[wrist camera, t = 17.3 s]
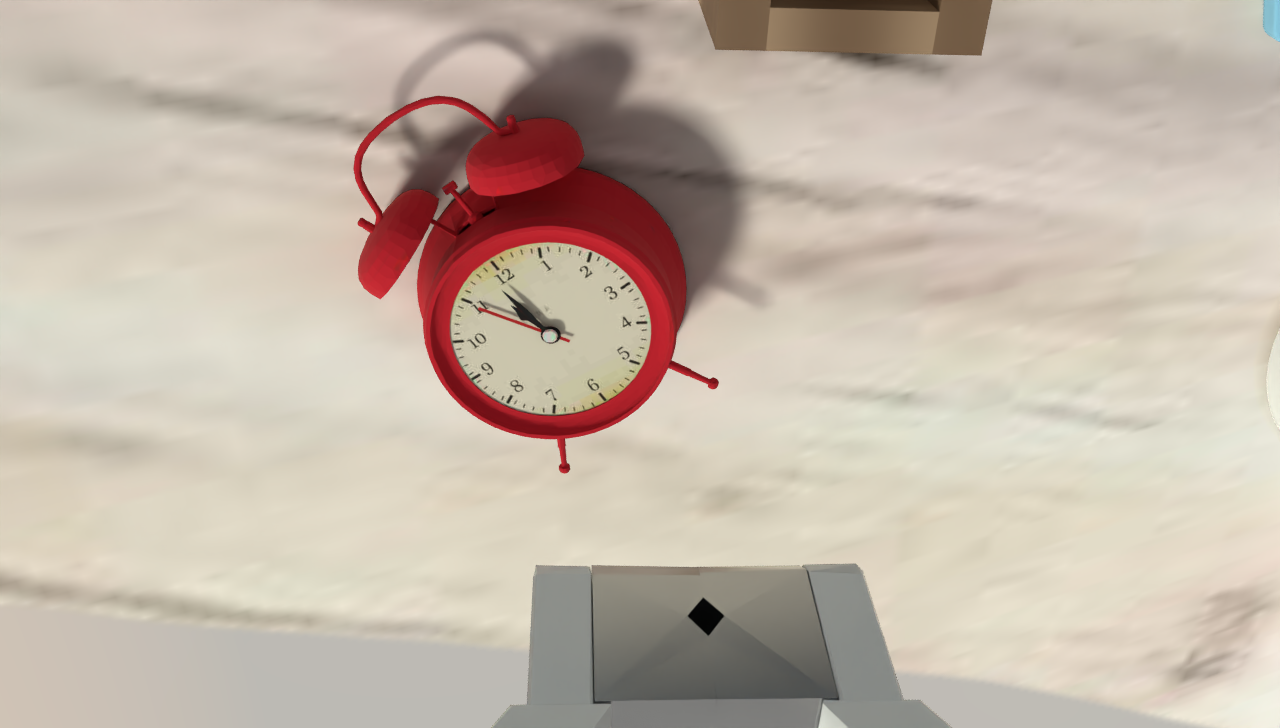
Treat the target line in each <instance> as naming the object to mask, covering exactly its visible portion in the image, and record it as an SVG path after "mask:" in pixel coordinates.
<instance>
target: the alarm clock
mask: <svg viewBox="0 0 1280 728" xmlns="http://www.w3.org/2000/svg"><path fill="white" fill-rule="evenodd" d="M432 104H449V105H455V106H457V107H460V108H462V109H464V110H466V111H468V112H469V113H471V114H472V115H474V116H475V117H477V118H478V119H479V120H481V121H482V122H483V123H484V124H486V125H487V126H488V127H489V128H490V129H491V130H493V132H491V133H489V134H488V135H486V136H485V137H483V138H482V139H481V140H480V141H478V142H477V143H476V144H475V145H474V147H473V148H472V149H471V150H470V152H469V154H468V156H467V161H466V174H467V179H468V182H469V185H470V189H468V190H467V191H465V192H464V193H463V194H462V195H461V196H460V195H459V193H458V192H457V191H456V190H455V189H457V187H458V186H457V184H456V183H455V182H454V181H451V182H450V183H449V184H447V185H446V186H444V187H443V188H442V189H443V191H444V193H445V194H447V195H448V194H449V193H451V194H452V195H453V196H454V197H455V199H456V200H455V201H453V202H452V203H451V204H450V205H449V206H448V207H447V208H446V210H445V211H444V212H443V213H442V215H441V216H440V218H439V219H438V220H437V221H436V220H434V219H433V216H434V214H435V211H436V209H437V206H438V201H439V198H437V197H436V196H434V195H432V194H431V193H429V192H426V191H424V190H421V189H411V190H409V191H406V192H404V193H402V194H401V195H400V196H398V197H397V198H396V199H395V200H394V201H393V202H392V203H391V204H390V205H389V206H388V207H387V209H386V210H385V211H384V213H383V214H382V211H381V209H380V208H379V206H378V205H377V203H376V202H375V200H374V198H373V197H372V195H371V194H370V192H369V190H368V188H367V186H366V185H365V183H364V181H363V176H362V172H361V164H362V159H363V155H364V153H365V152H366V150H367V148H368V147H369V145H370V143H371V142H372V141H373V140H374V139H375V138H376V137H377V136H378V135H379V134H380V133H381V132H382V131H383V130H384V129H386V128H387V127H388V126H389V125H390V124H392V123H393V122H394V121H396V120H397V119H399V118H400V117H402V116H404V115H406V114H407V113H409V112H411V111H413V110H415V109H418V108H421V107H424V106H427V105H432ZM506 120H507V123H508V125H507V126H504V127H502V128H499V127H498V126H497V125H496V124H495V123H494V122H493V121H492V120H491V119H490V118H489V117H488V116H486V115H485V114H484V113H482V112H481V111H480V110H478V109H477V108H476V107H474V106H473V105H471V104H469V103H467V102H465V101H463V100H461V99H458V98H454V97H445V96H434V97H429V98H424V99H420V100H418V101H415V102H413V103H411V104H408V105H406V106H404V107H403V108H401V109H399V110H398V111H396V112H394V113H393V114H391V115H390V116H388V117H386V118H385V119H384V120H383V121H382V122H381V123H380V124H379V125H377V126H376V127H375V128H374V129H373V130H372V131H371V132H370V133H369V134H368V135H367V136H366V138H365V139H364V140H363V142H362V143H361V144H360V146H359V148H358V151H357V153H356V155H355V161H354V174H355V179H356V182H357V184H358V187H359V189H360V191H361V193H362V194H363V196H364V197H365V199H366V200H367V202H368V203H369V205H370V206H371V208H372V209H373V211H374V212H375V214H376V222H375V225H373V224H372V223H370V222H368V221H366V220H365V219H363V218H360V220H359V221H358V225H359V226H360V227H363V228H364V229H365V230H367V231H368V232H370V235H369V236H368V238H367V241H366V243H365V246H364V248H363V251H362V253H361V256H360V259H359V266H358V275H359V280H360V282H361V284H362V285H363V287H364V289H366V290H367V291H368V292H369V293H371V294H372V295H374V296H376V297H377V298H379V299H381V298H382V297H383V296H384V295H385V294H386V293H387V292H388V291H389V290H390V288H391V287H392V286H393V284H394V283H395V282H396V280H397V279H398V277H399V276H400V274H401V273H402V271H403V270H404V268H405V267H406V265H407V264H408V262H409V261H410V259H411V258H412V256H413V254H414V253H415V251H416V249H417V247H418V246H419V244H420V242H421V241H422V239H423V237H424V235H425V233H426V231H427V229H428V227H429V225H430V223H432V224H434V227H433V229H432V230H431V232H430V234H429V236H428V238H427V241H426V243H425V246H424V249H423V252H422V256H421V259H420V264H419V269H418V279H417V292H418V302H419V307H420V312H421V315H422V318H423V330H424V339H425V345H426V348H427V352H428V355H429V358H430V361H431V363H432V365H433V368H434V370H435V372H436V374H437V376H438V378H439V380H440V381H441V383H442V384H443V386H444V387H445V388H446V390H447V391H448V392H449V394H450V395H451V396H452V397H453V398H454V399H455V400H456V401H457V402H458V403H459V404H460V405H461V406H462V407H463V408H464V409H466V410H467V411H468V412H470V413H471V414H472V415H474V416H475V417H477V418H478V419H480V420H482V421H483V422H485V423H487V424H489V425H491V426H493V427H495V428H498V429H501V430H503V431H506V432H509V433H512V434H516V435H520V436H525V437H531V438H540V439H557V442H558V447H559V450H560V456H561V463H562V464H560V466H559V470H560V472H562V473H568V472H569V470H570V465H569V464H568V463H567V461H566V450H565V446H566V444H565V438H573V437H579V436H584V435H588V434H591V433H595V432H598V431H600V430H603V429H606V428H608V427H610V426H612V425H614V424H616V423H618V422H620V421H621V420H623V419H625V418H626V417H628V416H629V415H631V414H632V413H633V412H635V411H636V410H637V409H639V408H640V407H641V406H642V405H643V404H644V403H645V402H646V401H647V400H648V399H649V397H650V396H651V395H652V394H653V393H654V391H655V390H656V388H657V387H658V385H659V384H660V382H661V381H662V379H663V377H664V375H665V373H666V371H667V369H668V368H670V369H672V370H675V371H677V372H679V373H681V374H684V375H686V376H690V377H692V378H694V379H697V380H699V381H702V382H704V383H706V384H708V387H709V388H710V389H716V388H717V386H718V384H719V382H718V380H717V379H716V378H714V377H713V378H711V379H708V378H706V377H704V376H702V375H700V374H698V373H696V372H694V371H692V370H691V369H689V368H687V367H685V366H683V365H680V364H678V363H676V362H674V361H672V360H671V359H672V357H673V353H674V349H675V345H676V337H677V332H678V330H679V327H680V324H681V321H682V318H683V314H684V310H685V303H686V276H685V269H684V264H683V260H682V256H681V253H680V250H679V247H678V244H677V242H676V240H675V238H674V236H673V234H672V232H671V230H670V229H669V227H668V225H667V224H666V223H665V221H664V220H663V218H662V217H661V216H660V215H659V213H658V212H657V211H656V210H655V209H654V208H653V207H652V206H651V205H650V204H649V203H648V202H647V201H646V200H645V199H643V198H642V197H641V196H640V195H638V194H637V193H636V192H634V191H633V190H632V189H630V188H628V187H627V186H625V185H623V184H622V183H620V182H618V181H616V180H614V179H612V178H610V177H607V176H605V175H602V174H599V173H596V172H593V171H590V170H585V169H581V168H577V167H578V165H579V164H580V162H581V161H582V159H583V157H584V151H583V146H582V143H581V140H580V138H579V135H578V133H577V132H576V131H575V129H574V128H572V127H571V126H570V125H569V124H568V123H566V122H564V121H561V120H558V119H552V118H536V119H528V120H524V121H520V122H516V119H515V117H514V115H509V116H507V118H506Z"/></svg>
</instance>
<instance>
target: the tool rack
mask: <svg viewBox="0 0 1280 728" xmlns="http://www.w3.org/2000/svg"><path fill="white" fill-rule="evenodd" d="M698 1H699V3H700V6H701V9H702V12H703V15H704V18H705V21H706V23H707V26H708V29H709V32H710V35H711V38H712V41H713V43H714V46H715V49H716V50H760V51H805V52H849V53H894V54H939V55H981V54H982V49H983V44H984V39H985V34H986V29H987V24H988V19H989V14H990V9H991V4H992V0H698Z"/></svg>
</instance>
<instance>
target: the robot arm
mask: <svg viewBox="0 0 1280 728" xmlns="http://www.w3.org/2000/svg"><path fill="white" fill-rule="evenodd" d="M1267 398H1268V403H1269V407H1270V411H1271V414H1272V417H1273V419H1274V421H1275V423H1276V425H1277V427H1278V428H1279V430H1280V328H1279V331H1278V333H1277V335H1276V338H1275V341H1274V344H1273V346H1272V350H1271V354H1270V358H1269V363H1268V369H1267ZM491 728H952V727H951V726H950V725H949V724H948V723H946V722H945V721H944V720H943V719H942V718H940V717H939V716H938V715H937V714H936V713H935V712H934V711H932V710H931V709H930V708H929V707H928V706H927V705H925V704H924V703H923V702H922V701H921V700H904V699H903V696H902V693H901V689H900V686H899V683H898V680H897V677H896V674H895V671H894V667H893V664H892V661H891V658H890V655H889V652H888V649H887V645H886V642H885V639H884V636H883V633H882V630H881V627H880V623H879V620H878V617H877V614H876V611H875V608H874V605H873V601H872V598H871V595H870V592H869V589H868V586H867V583H866V580H865V576H864V573H863V571H862V570H861V569H860V568H859V567H858V565H857V564H817V565H803V566H802V567H801V566H799V565H797V566H725V567H657V566H601V565H592V571H590V567H587V566H542V565H536V569H535V573H534V577H533V592H532V612H531V632H530V652H529V673H528V692H527V705H510V706H509V707H508V708H507V710H506V711H505V712H504V713H503V714H502V715H501V717H500V718H499V719H498V720H497V721H496V722H495V724H494V725H493V726H492V727H491Z"/></svg>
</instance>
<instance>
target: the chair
mask: <svg viewBox="0 0 1280 728" xmlns="http://www.w3.org/2000/svg"><path fill="white" fill-rule="evenodd" d="M1263 27H1264V30H1265V32H1266V33H1267V34H1268V35H1269V36H1271V37H1272V38H1274V39H1275V40H1277V41H1279V42H1280V0H1264V12H1263Z"/></svg>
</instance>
